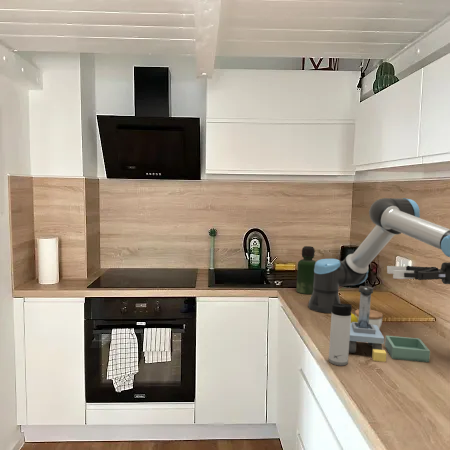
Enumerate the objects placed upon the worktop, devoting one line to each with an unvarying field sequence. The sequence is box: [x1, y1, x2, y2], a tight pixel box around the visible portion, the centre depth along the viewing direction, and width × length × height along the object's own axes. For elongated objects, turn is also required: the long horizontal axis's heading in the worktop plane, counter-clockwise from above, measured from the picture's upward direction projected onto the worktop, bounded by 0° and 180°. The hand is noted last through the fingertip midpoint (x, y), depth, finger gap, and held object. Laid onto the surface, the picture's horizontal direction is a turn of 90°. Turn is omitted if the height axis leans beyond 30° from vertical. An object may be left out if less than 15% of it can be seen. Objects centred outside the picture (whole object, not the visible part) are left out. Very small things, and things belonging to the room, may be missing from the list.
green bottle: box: [295, 245, 317, 295], centre depth 232 cm, size 10×10×25 cm
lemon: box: [351, 312, 357, 323], centre depth 171 cm, size 6×6×8 cm
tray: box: [384, 335, 431, 363], centre depth 151 cm, size 12×12×4 cm
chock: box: [371, 348, 388, 363], centre depth 145 cm, size 3×4×3 cm
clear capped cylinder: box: [358, 285, 374, 329], centre depth 153 cm, size 5×5×16 cm
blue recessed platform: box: [349, 322, 385, 354], centre depth 154 cm, size 14×12×8 cm
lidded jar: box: [354, 309, 384, 329], centre depth 173 cm, size 11×11×9 cm
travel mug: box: [328, 303, 353, 367], centre depth 141 cm, size 6×7×20 cm
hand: (390, 272), depth 152 cm, fingers open, 13 cm apart
